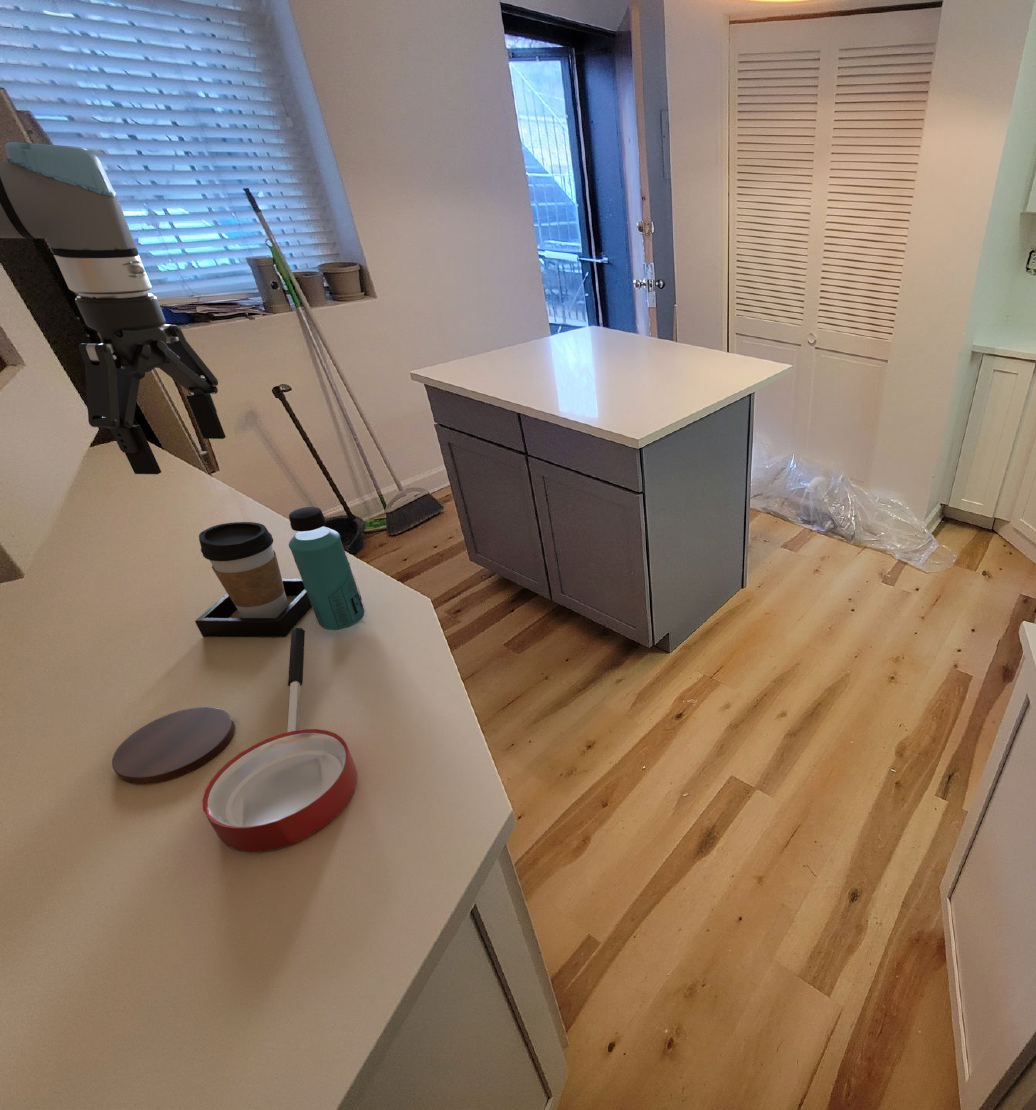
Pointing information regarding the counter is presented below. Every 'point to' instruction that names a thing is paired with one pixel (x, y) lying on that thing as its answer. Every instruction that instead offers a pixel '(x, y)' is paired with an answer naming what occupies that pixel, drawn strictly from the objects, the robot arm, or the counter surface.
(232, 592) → the coffee cup
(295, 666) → the frying pan
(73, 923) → the counter surface
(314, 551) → the beverage bottle
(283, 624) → the black open frame
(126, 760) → the walnut coaster
